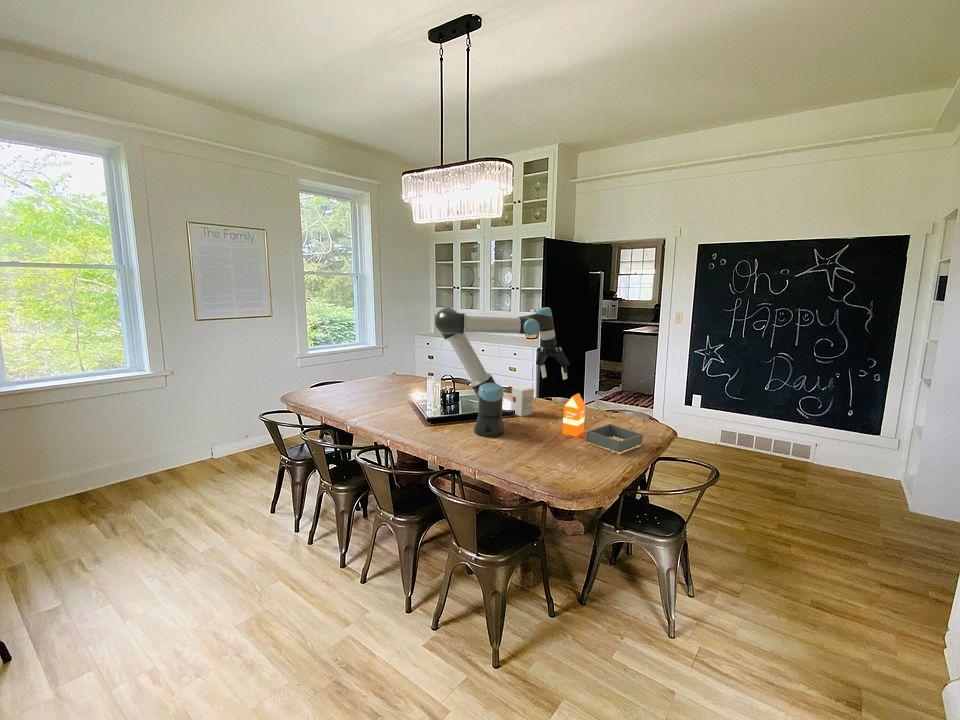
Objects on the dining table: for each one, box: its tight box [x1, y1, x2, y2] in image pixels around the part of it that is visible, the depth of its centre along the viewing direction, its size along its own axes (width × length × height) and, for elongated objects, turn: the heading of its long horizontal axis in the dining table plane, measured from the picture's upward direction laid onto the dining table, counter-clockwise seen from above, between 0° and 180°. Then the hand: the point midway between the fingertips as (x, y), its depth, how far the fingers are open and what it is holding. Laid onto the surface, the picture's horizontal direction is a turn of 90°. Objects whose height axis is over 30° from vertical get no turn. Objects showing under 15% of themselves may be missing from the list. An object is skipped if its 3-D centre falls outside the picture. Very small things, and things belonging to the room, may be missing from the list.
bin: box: [586, 423, 644, 452], centre depth 210 cm, size 18×18×6 cm
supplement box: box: [510, 384, 535, 418], centre depth 253 cm, size 9×9×15 cm
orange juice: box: [561, 393, 586, 437], centre depth 222 cm, size 8×9×20 cm
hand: (554, 378), depth 233 cm, fingers open, 13 cm apart
